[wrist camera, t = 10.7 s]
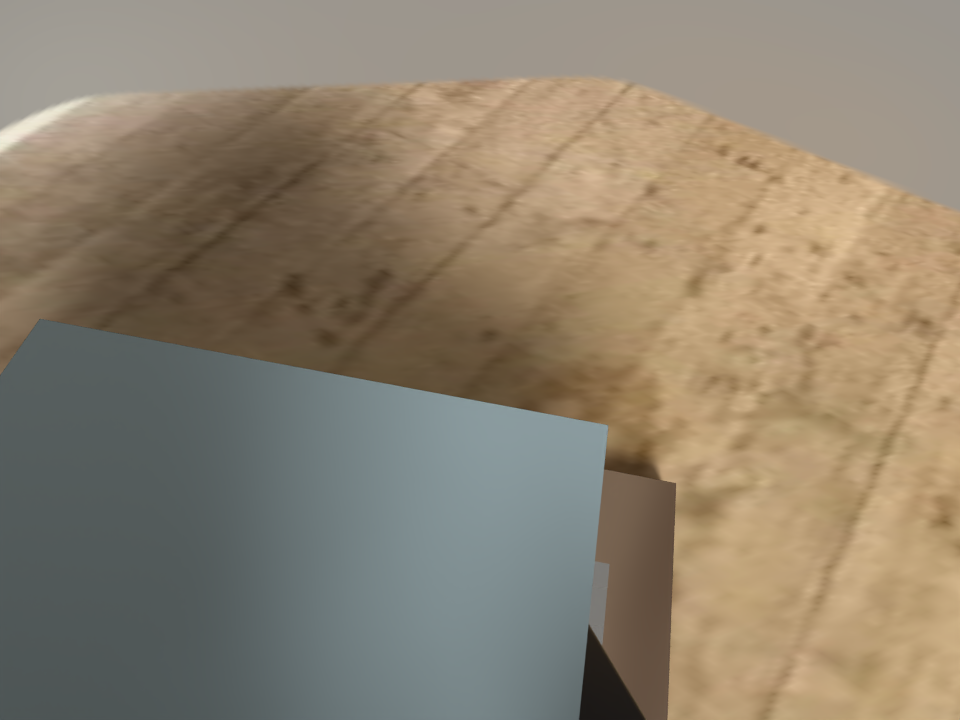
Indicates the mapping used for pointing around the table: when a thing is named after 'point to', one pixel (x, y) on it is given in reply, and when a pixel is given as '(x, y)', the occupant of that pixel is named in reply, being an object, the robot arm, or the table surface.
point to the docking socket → (636, 584)
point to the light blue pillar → (282, 542)
